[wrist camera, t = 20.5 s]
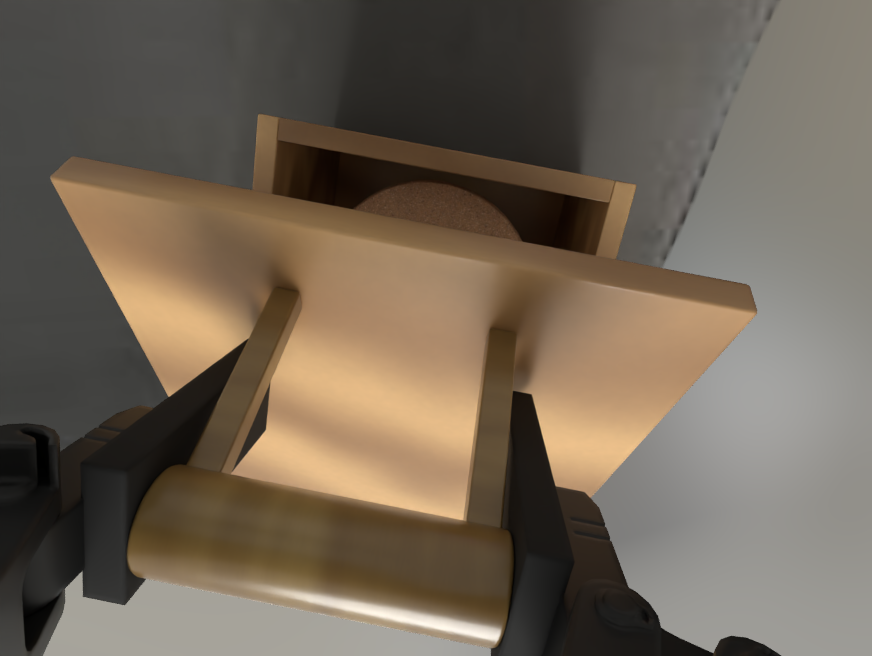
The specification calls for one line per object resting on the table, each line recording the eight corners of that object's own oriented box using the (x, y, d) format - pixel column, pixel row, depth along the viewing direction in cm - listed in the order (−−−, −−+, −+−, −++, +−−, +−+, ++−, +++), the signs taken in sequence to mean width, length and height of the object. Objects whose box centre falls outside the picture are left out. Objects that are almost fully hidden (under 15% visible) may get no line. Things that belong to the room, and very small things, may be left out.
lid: (71, 154, 12) (-260, 462, 7) (750, 283, 12) (877, 689, 7) (229, 480, 27) (154, 655, 22) (536, 540, 26) (530, 731, 22)
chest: (332, 132, 33) (257, 113, 22) (581, 179, 33) (637, 184, 21) (302, 389, 38) (230, 482, 27) (517, 431, 38) (535, 543, 27)
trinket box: (540, 200, 32) (566, 213, 23) (495, 359, 36) (502, 423, 27) (371, 159, 32) (332, 155, 23) (341, 321, 36) (296, 372, 27)
